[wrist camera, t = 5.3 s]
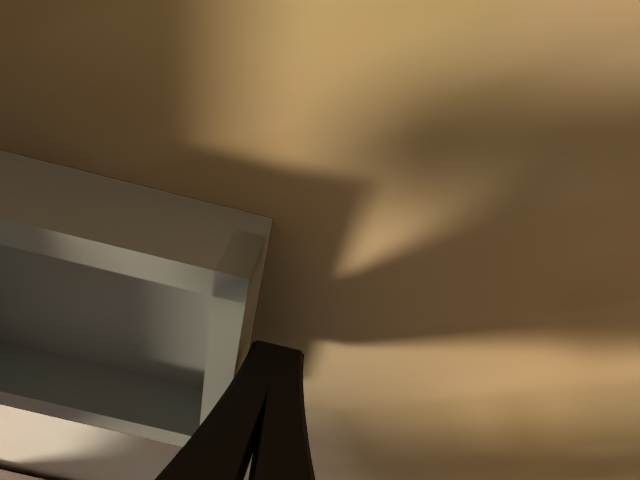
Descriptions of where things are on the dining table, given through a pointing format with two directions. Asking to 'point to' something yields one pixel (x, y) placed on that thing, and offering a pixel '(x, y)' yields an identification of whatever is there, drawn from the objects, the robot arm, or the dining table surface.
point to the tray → (121, 299)
